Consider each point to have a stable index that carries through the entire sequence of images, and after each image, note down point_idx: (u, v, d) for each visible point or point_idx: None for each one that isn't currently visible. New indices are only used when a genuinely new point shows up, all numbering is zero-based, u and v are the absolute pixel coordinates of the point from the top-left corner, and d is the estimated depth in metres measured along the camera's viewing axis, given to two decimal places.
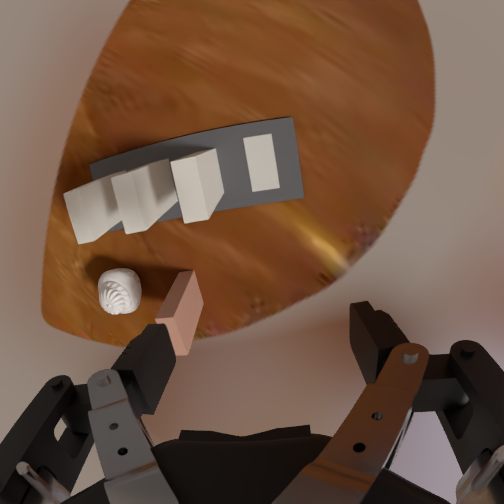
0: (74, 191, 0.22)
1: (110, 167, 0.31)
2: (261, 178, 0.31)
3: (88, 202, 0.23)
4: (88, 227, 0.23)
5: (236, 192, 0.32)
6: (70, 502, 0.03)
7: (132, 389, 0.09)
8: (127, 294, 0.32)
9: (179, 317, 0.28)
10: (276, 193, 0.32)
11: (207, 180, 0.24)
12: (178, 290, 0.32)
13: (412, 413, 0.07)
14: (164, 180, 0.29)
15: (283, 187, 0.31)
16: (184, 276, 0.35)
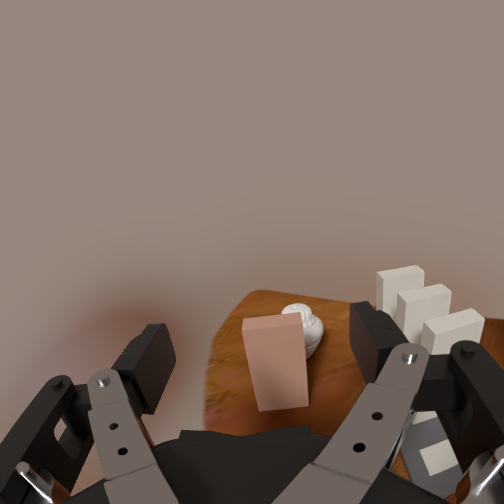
0: (420, 269, 0.27)
1: None
2: (437, 454, 0.15)
3: (411, 281, 0.27)
4: (394, 276, 0.27)
5: (415, 435, 0.18)
6: (70, 502, 0.03)
7: (132, 389, 0.09)
8: None
9: (293, 336, 0.23)
10: (422, 474, 0.14)
11: None
12: None
13: (412, 413, 0.07)
14: None
15: (430, 480, 0.13)
16: None
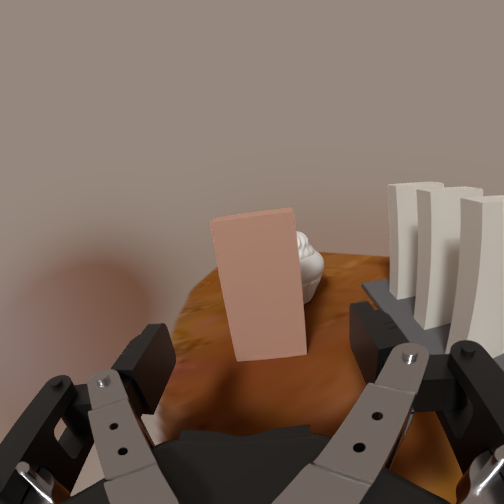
0: None
1: None
2: None
3: None
4: (408, 184, 0.21)
5: None
6: (70, 502, 0.03)
7: (132, 389, 0.09)
8: None
9: (281, 233, 0.17)
10: None
11: None
12: None
13: (412, 413, 0.07)
14: None
15: None
16: None
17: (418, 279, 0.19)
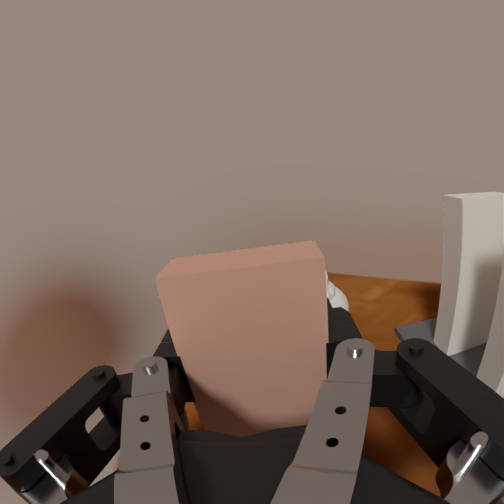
0: None
1: None
2: None
3: (501, 212, 0.12)
4: (477, 197, 0.12)
5: None
6: (70, 502, 0.03)
7: (178, 376, 0.09)
8: None
9: (296, 300, 0.08)
10: None
11: None
12: None
13: None
14: None
15: None
16: None
17: (489, 342, 0.10)
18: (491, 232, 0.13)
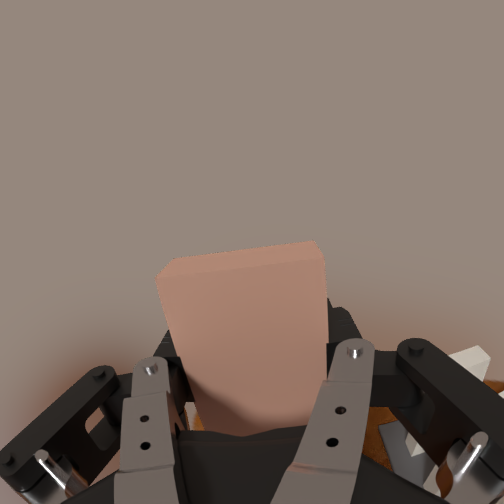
0: (485, 354, 0.15)
1: None
2: None
3: (473, 373, 0.15)
4: None
5: None
6: (70, 502, 0.03)
7: (178, 376, 0.09)
8: None
9: (296, 300, 0.08)
10: None
11: None
12: None
13: None
14: None
15: None
16: None
17: (435, 468, 0.13)
18: None
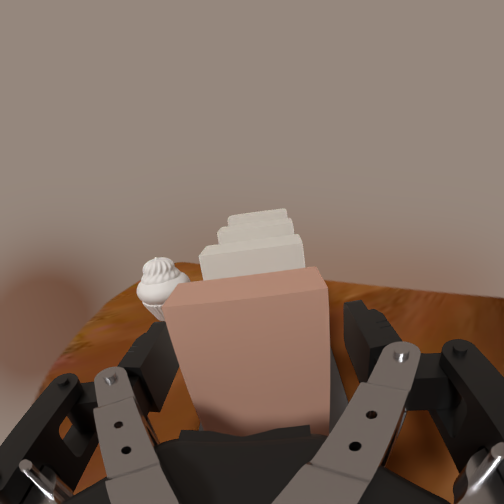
0: (284, 210, 0.25)
1: None
2: None
3: None
4: (243, 216, 0.25)
5: None
6: (70, 502, 0.03)
7: (139, 387, 0.09)
8: (156, 281, 0.29)
9: (300, 328, 0.09)
10: None
11: None
12: None
13: (405, 411, 0.07)
14: None
15: None
16: None
17: None
18: None
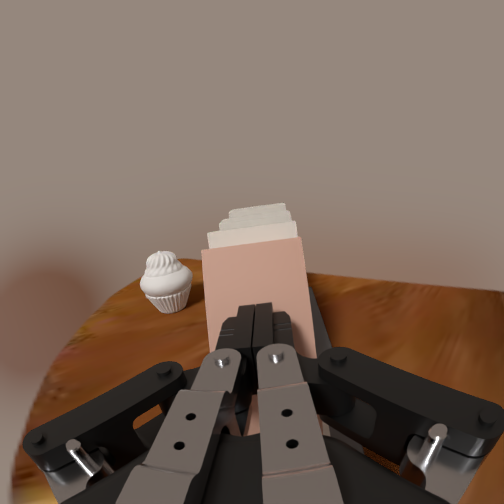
0: (283, 204, 0.26)
1: None
2: None
3: None
4: (243, 210, 0.26)
5: None
6: (70, 502, 0.03)
7: (247, 368, 0.09)
8: (159, 273, 0.30)
9: (285, 263, 0.14)
10: None
11: None
12: None
13: None
14: None
15: None
16: None
17: None
18: None
